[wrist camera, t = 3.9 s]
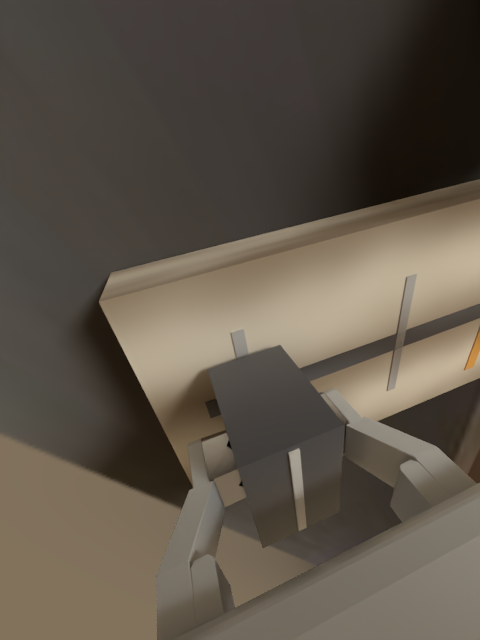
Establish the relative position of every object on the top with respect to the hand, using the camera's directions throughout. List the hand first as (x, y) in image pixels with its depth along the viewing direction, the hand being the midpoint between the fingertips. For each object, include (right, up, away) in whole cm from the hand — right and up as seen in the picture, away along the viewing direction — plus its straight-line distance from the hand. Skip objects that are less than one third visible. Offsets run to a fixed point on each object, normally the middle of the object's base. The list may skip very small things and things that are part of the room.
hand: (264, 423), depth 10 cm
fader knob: (0, +1, +1) cm, 1 cm away
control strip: (+6, +4, +5) cm, 9 cm away
